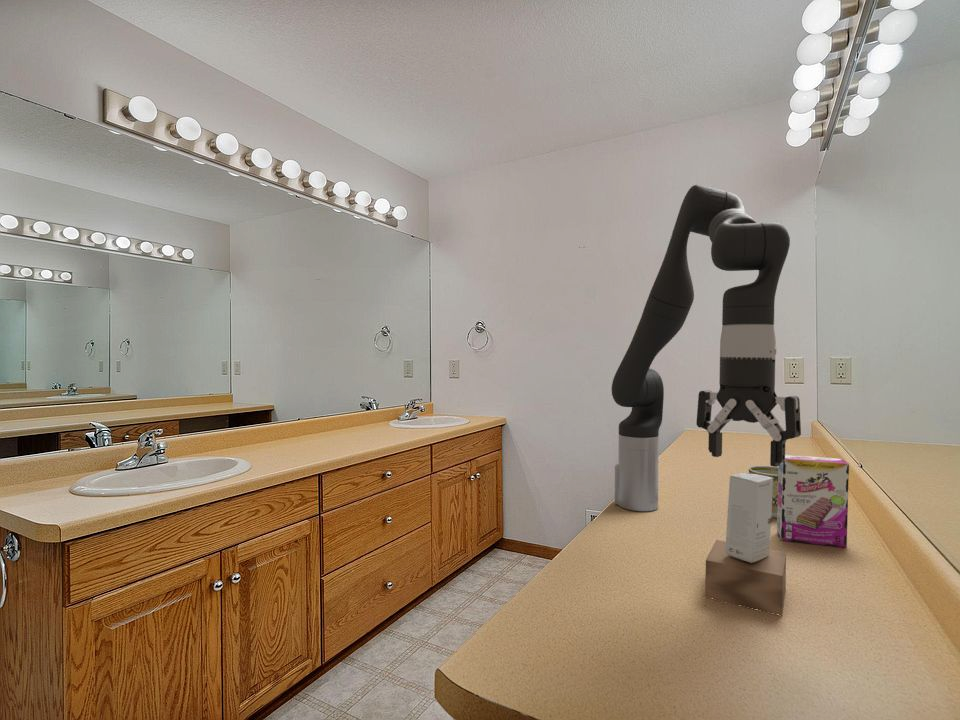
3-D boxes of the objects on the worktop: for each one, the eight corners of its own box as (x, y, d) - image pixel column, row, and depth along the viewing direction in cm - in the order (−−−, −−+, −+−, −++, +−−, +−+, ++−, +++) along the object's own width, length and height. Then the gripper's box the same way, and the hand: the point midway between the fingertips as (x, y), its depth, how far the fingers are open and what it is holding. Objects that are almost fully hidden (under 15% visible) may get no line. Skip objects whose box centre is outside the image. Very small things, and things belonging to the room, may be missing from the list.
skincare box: (753, 564, 75) (759, 482, 74) (722, 553, 78) (728, 475, 78) (770, 555, 79) (776, 477, 78) (740, 545, 82) (746, 470, 82)
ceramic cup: (750, 517, 115) (751, 472, 115) (745, 505, 125) (746, 464, 124) (818, 524, 110) (818, 478, 110) (808, 511, 120) (808, 468, 120)
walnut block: (705, 599, 77) (705, 559, 77) (715, 575, 85) (716, 539, 85) (782, 618, 71) (782, 576, 71) (785, 590, 80) (786, 552, 80)
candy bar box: (781, 541, 100) (782, 458, 100) (776, 533, 105) (776, 453, 105) (849, 549, 96) (850, 462, 96) (840, 539, 101) (841, 457, 101)
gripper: (690, 354, 81) (688, 456, 81) (790, 355, 70) (788, 473, 70) (711, 354, 86) (709, 450, 86) (808, 355, 75) (805, 465, 75)
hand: (745, 460), depth 78 cm, fingers open, 8 cm apart
